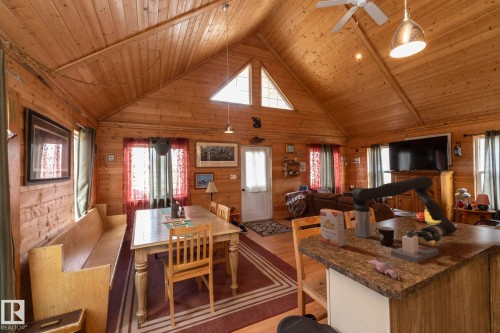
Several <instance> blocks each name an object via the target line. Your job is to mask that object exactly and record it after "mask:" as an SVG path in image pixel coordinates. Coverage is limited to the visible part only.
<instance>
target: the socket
mask: <svg viewBox="0 0 500 333" xmlns="http://www.w3.org/2000/svg"><path fill="white" fill-rule="evenodd" d="M418 252H419V254H416V255H413V254H409V253H405V252H403V246H402V247H399V248H395V249H392V250H390V256H392V257H394V258H398V259H400V260H404V261H408V262H411V263H414V264H420V263H421V262H423V261H427V260H428V259H429V260H430V259H431V258H434V257H436V256H438V255H439V254H440V250H439V249H438V248H433V247H430V246H426V245H422V244H418Z"/></svg>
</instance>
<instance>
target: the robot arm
mask: <svg viewBox="0 0 500 333" xmlns="http://www.w3.org/2000/svg"><path fill="white" fill-rule="evenodd" d="M433 184H434V181H433V179H432V178H431V177H429V176H423V175H420V176H416V177H414V178H413V177H412V178H410V179H405V180H398V181H391V182H387V183H384V184H382V185H379V186H376V187H356V188H355V189H353V191H352V203H353V207H354V218H355V219H354V220H355V223H354V224H355V236H356V237H358V238H365V239H367V238H368V239H369V238H371V237H372V228H371V210H370V206H369V204H368V202H369V201H372V200H373V201H374V200H375V199H376V200H377V199H380V198H389V197H396V196H400V195H403V194H405V193H407V192H409V191H411V190H413V191H414V192H415V193H416V195H417V196H418V198H419V199H420V200H421V202H422V203H423V205H424V206H425V208H426V210H427V212H428V214H429V216H430V218H431V219H432V221H436V222H439V223H437V224H433V225H429V226H425V227H422V228H421V229H420V230H414V229H412V230H411V229H410V230H409V231H412V234H413V237H418V239H423V240H425V242H433V241H434V242H435V243H437V242H440V241H442V237H444V236H446V235H450V234H453V233H456V231H457V226H456V227H455V225H456V224H455V223H453V222H452V221H451V220H450V219H449V218H448V217H447V216H446V214H445V213H444V210H443V209H442V207H441V205H439V203H438V202H437V201H435V200H434V199H432V198H431V197H430V195H429V192H428V190H430V189H431V187H432V186H433ZM440 221H442V222H440ZM454 224H455V225H454Z"/></svg>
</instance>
